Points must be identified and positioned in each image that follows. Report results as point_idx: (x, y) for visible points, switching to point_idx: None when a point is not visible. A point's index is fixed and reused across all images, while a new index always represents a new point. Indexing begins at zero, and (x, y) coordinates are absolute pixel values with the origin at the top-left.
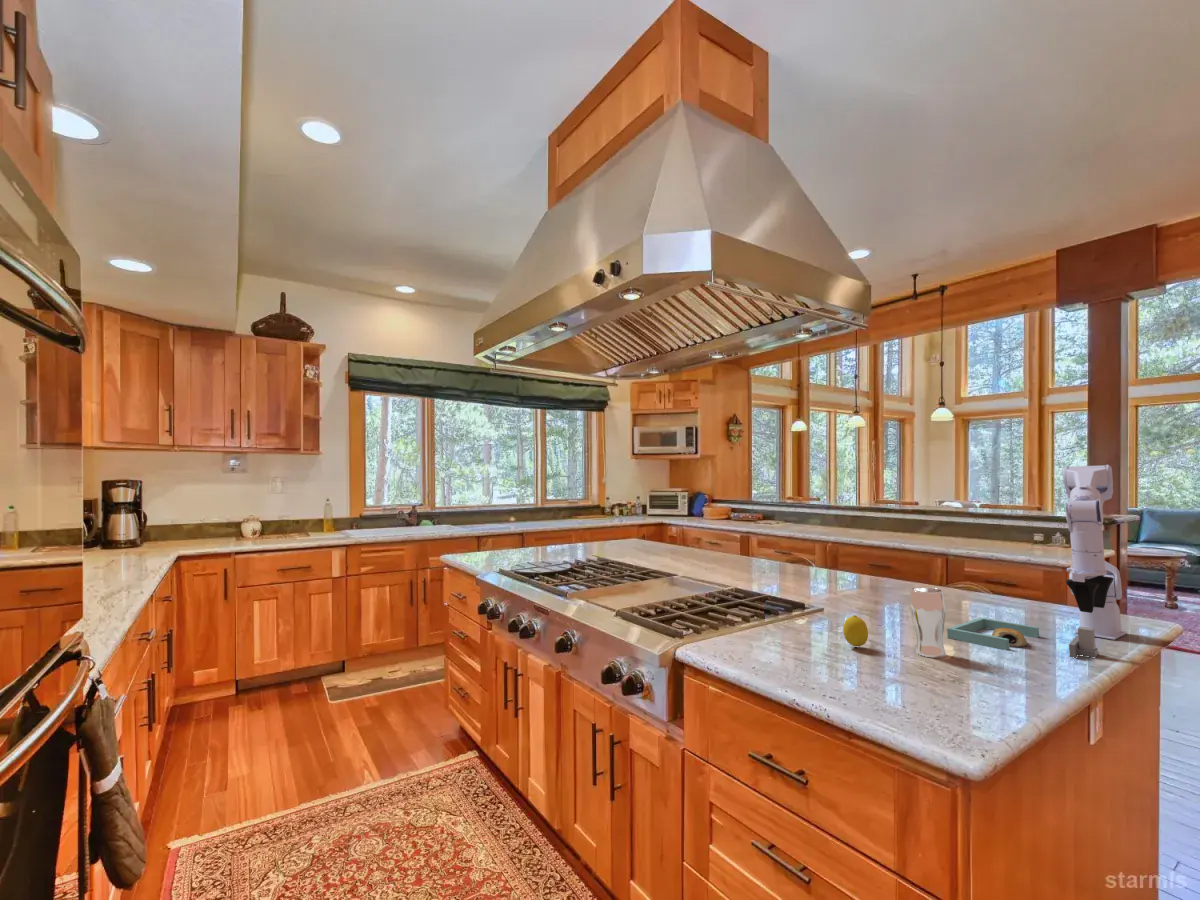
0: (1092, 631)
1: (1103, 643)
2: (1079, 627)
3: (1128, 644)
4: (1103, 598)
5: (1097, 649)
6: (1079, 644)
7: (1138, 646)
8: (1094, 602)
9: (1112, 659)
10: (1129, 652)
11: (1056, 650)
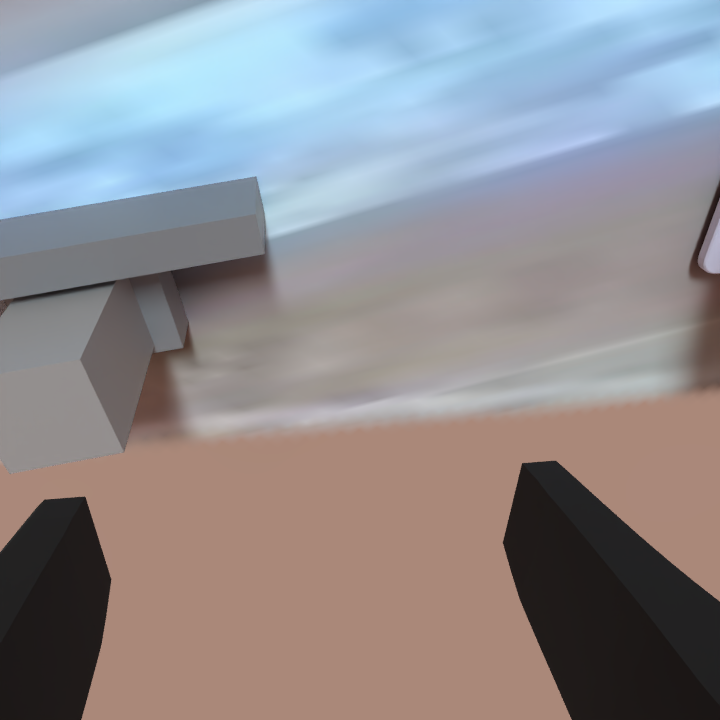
0: (15, 466)
1: (557, 245)
2: (26, 373)
3: (626, 341)
4: (559, 662)
5: (166, 346)
6: (16, 300)
7: (605, 384)
8: (537, 534)
9: (140, 402)
10: (409, 400)
11: (2, 86)
